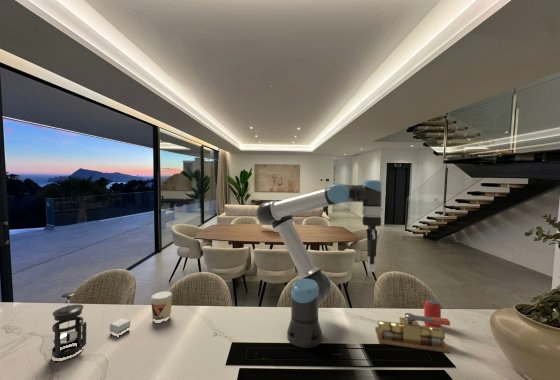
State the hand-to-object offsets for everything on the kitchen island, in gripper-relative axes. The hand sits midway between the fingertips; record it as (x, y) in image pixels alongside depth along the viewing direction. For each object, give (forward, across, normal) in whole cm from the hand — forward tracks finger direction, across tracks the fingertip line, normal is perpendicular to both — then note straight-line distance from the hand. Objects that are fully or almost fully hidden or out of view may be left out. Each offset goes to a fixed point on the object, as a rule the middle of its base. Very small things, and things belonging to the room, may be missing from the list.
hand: (371, 270), depth 104 cm
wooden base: (+29, +3, -16) cm, 34 cm away
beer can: (+30, +18, -30) cm, 46 cm away
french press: (+30, -37, +115) cm, 124 cm away
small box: (+30, -21, +108) cm, 114 cm away
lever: (+20, +3, -22) cm, 30 cm away
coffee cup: (+30, -7, +98) cm, 103 cm away
